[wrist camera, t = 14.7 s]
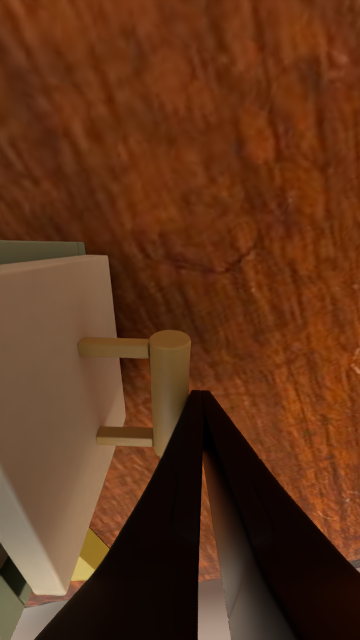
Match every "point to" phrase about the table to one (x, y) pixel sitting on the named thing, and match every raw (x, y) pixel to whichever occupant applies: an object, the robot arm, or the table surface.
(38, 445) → the drawer
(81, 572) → the flat olive board
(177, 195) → the table surface
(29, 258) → the cabinet
